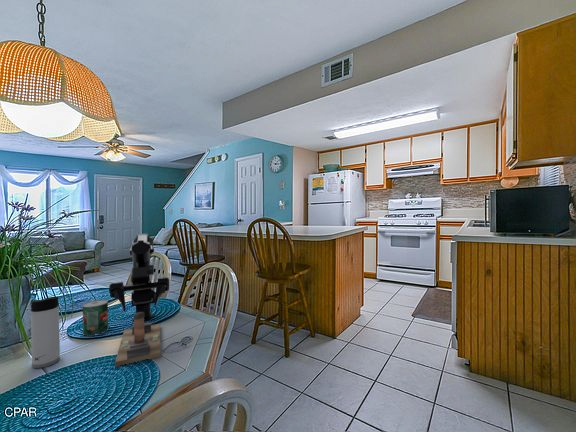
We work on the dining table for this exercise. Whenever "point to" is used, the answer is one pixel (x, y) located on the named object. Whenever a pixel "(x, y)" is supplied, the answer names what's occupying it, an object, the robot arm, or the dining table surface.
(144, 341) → the handle
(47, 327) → the travel mug
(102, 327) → the canned tomato
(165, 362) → the dining table surface
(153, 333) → the press base
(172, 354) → the dining table surface
